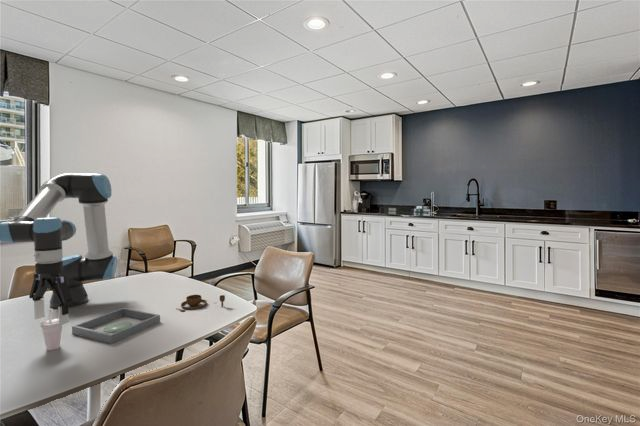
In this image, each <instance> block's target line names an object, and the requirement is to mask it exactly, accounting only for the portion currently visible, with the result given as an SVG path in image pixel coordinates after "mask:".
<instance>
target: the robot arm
mask: <svg viewBox="0 0 640 426" xmlns="http://www.w3.org/2000/svg"><path fill="white" fill-rule="evenodd" d="M111 197H112V185H111V182H110V180H109V178H108V176H107V175H106V174H102V173H94V172H93V173H91V172H90V173H88V172H87V173H85V172H83V173H82V172H81V173H79V172H78V173H76V172H74V173H73V172H67V173H66V172H65V173H62V174H59V175H56V176H52V178H50V179H48V180H46V181H45V182H44V183H42V185H41V186H40V187H39V188H38V193H37V194H36V195H35V196H34V197H33V198H32V200H31V201H30V202H29V203H28V204H27V205H26V206H25V207H24V208H23V209H22V210H21V211H20V213H19V214H18V215H17V216H16V217H15V218H14V219H13V220H12V221H3V222H0V242H1V243H11V244H14V243H33V242H34V243H33V244H34V249H33V250H34V254H33V257H34V261H35V262H36V263H35V264H34V269H35V273H34V274H33V281H32V286H31V288H30V292H29V296H28V297H29V299H31V300H32V301H33V307H34V319H35V320H38V319H42V318H45V298H44V296H45V293H46V292H47V290H50V291H52V294H51V297H50V300H49V307H50V308H52V309H53V308H54V309H55V308H56V309H57V311H58V318H59V325H62V326H63V325H64V324H67V323H69V322H70V319H69V318H70V317H69V316H70V315H69V308H72V307H75V306H79V305H82V304H85V303H87V301H88V300H89V296H88V293H87V291H86V289H85V287H84V282H91V281H92V282H93V281H108V280H112V279H113V278H114V277H115V275H116V273H117V268H118V260H119V259H118V256H115V255H114V253H113V252H112V251H111V250H110V249H109V238H108V229H107V217H106V206H105V205H106V204H107V203H108V201H109V199H110V198H111ZM65 199H78V203H79V204H80V205H82V207H83V208H82V209H83V216H84V218H83V219H84V227H85V235H86V242H87V244H86V245H87V253H86V254H85V255H84V257H83V255H82V254H74V255H67V256H63V242H64V241H67V240H69V239H70V240H71V238H73V237H74V236H75V235H76V232H77V227H76V225H75V224H74V223H73V222H72V221H69V220H66V219H65V220H62V219H61V218H60V217H54V216H53V217H48V216H49V214H50V213H51V212H52V211H53V209H54V208H55V207H56V206H57V204H58V203H61V202H63V200H65Z"/></svg>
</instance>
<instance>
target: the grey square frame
mask: <svg viewBox="0 0 640 426" xmlns="http://www.w3.org/2000/svg"><path fill="white" fill-rule="evenodd" d="M122 316H125V317H129V318H134V319H140V320H142V321H140V322H138V323H135V324H133V323H132V322H129V321H120V322H119V321H118V322H114V323H111V324H109V325H108V324H107V326H105V327H104V328H103V331H99V330H95V329H92V328H94V327H96V326H99V325H101V324H105V323H107V322H110V321H112V320H115V319H117V318H119V317H120V318H121V317H122ZM160 322H161V315H160V314H157V313H151V312H147V311H142V310H137V309H132V308H126V307H121V308H119V309H116V310H113V311H111V312H108V313H105V314H103V315H100V316H96V317H94V318H91V319H89V320H85V321H82V322H80V323H77V324H74V325H71V334H72V335H76V336H80V337H84V338H88V339H92V340H96V341H99V342H103V343H106V344H110V345H112V344H114V343H116V342H119V341H121V340H123V339H125V338H127V337H129V336H131V335H134V334H136V333H138V332H141V331H143V330H145V329H147V328H149V327H152V326H153V325H157V324H158V323H160Z"/></svg>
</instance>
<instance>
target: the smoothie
mask: <svg viewBox="0 0 640 426" xmlns="http://www.w3.org/2000/svg"><path fill="white" fill-rule="evenodd" d="M48 317H49V319H46V320H44V321H41V323H40V328H41V331H42V334H43V341H44V345H45V348H46V351H54V349H55V350H57V349H59V348H60V347H61V340H62V329H63V324H62V325H59V317H57V318H55V317H54V318H52V309H48Z"/></svg>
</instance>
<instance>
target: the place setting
mask: <svg viewBox="0 0 640 426" xmlns="http://www.w3.org/2000/svg"><path fill="white" fill-rule="evenodd" d="M185 297H186V299H185V301H182V302H181V303H180V306H181V308H182V309H180V308H175V310H179V311H180V312H186V310H188V311H189V310H190V311H191V310H198V309H201V308H204V307H206V305H207V303H208V301H207V300H206V299H203V298H202V295H200V294H191V295H188V296H185ZM225 298H226V295H222V294H221V295H219V301H220V302H221V304H220V305H221V306H220V308H224V307H223V306H224V302H225V300H226V299H225ZM201 303H202V304H201ZM216 303H217V302H216ZM216 303H215V304H216ZM199 304H201V305H199ZM186 305H188V306H186Z"/></svg>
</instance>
